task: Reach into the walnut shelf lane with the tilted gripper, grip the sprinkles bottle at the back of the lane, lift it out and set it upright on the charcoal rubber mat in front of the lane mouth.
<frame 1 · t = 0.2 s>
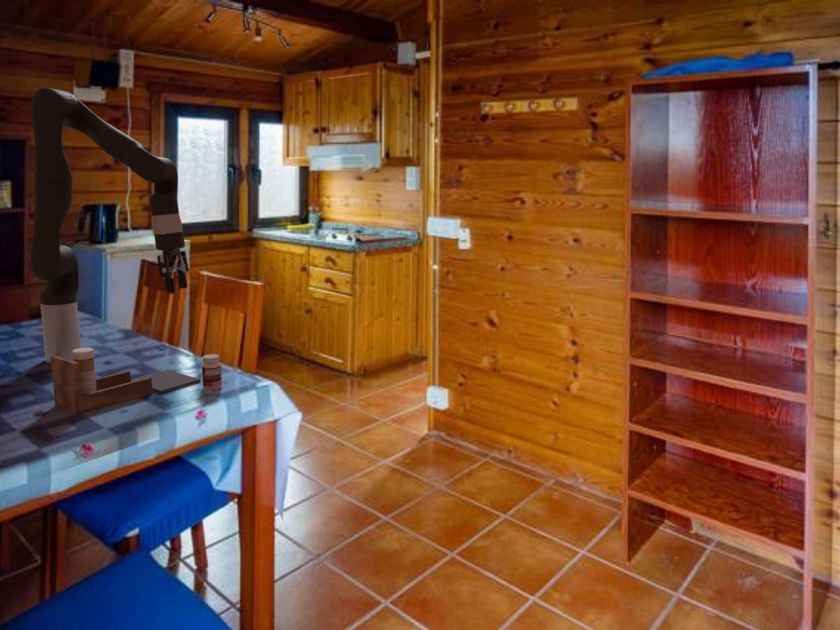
hand: (177, 290, 185), 22 cm above the table, tool pointing down, fingers open, 8 cm apart
sprinkles bottle: (87, 404, 159), resting in shelf lane
pill bottle: (212, 388, 173), on the table
rubber mat: (164, 382, 176), on the table
shelf lane: (105, 399, 163), on the table
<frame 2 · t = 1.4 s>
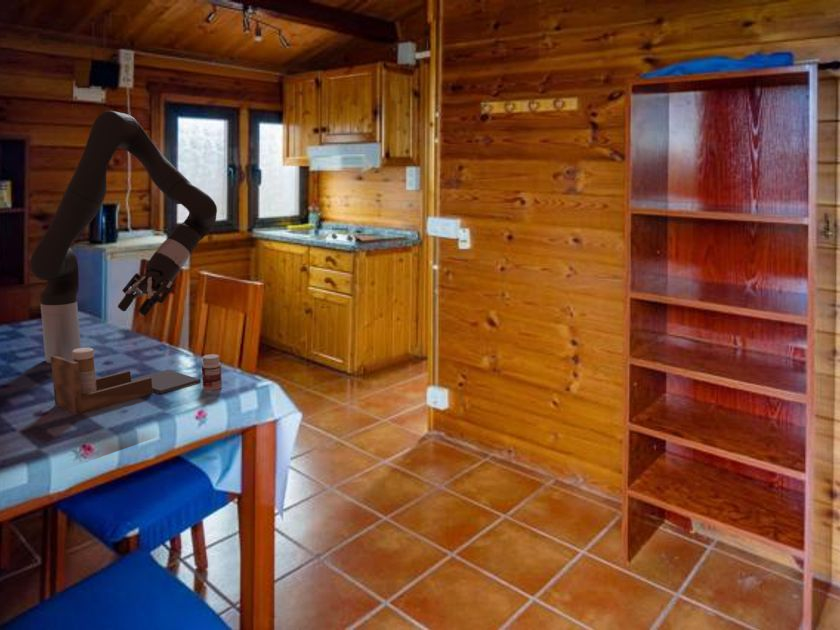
hand: (131, 311, 165), 20 cm above the table, tool tilted 45°, fingers open, 8 cm apart
nothing on the table moved.
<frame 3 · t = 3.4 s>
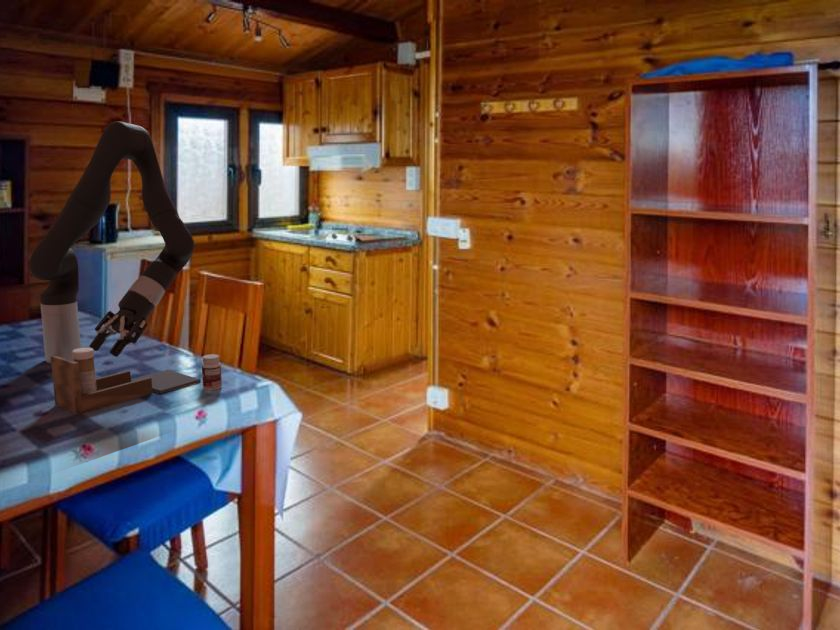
hand: (102, 352, 160), 12 cm above the table, tool tilted 45°, fingers open, 8 cm apart
nothing on the table moved.
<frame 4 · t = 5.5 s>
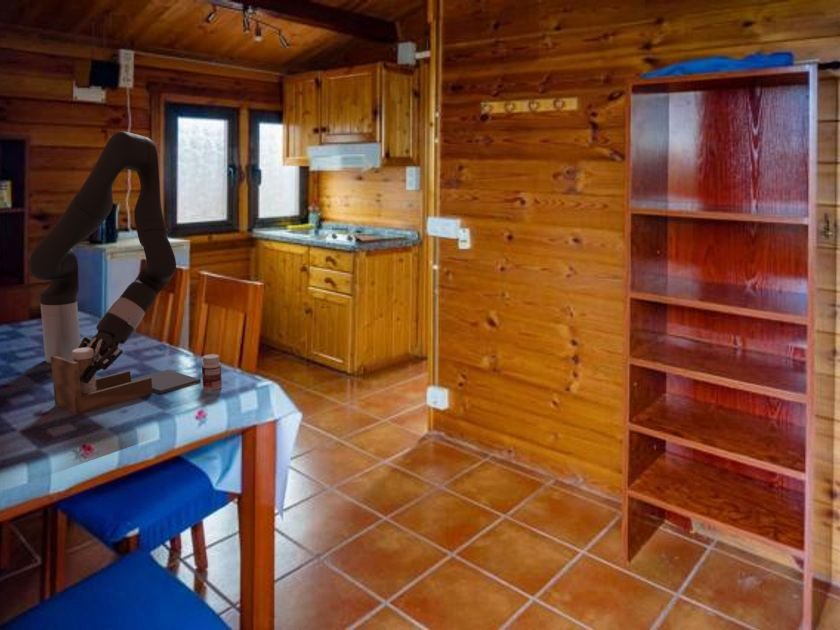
hand: (77, 379, 156), 7 cm above the table, tool tilted 45°, fingers closed on sprinkles bottle, 4 cm apart
sprinkles bottle: (87, 404, 159), resting in shelf lane, touching gripper
everything else where it was.
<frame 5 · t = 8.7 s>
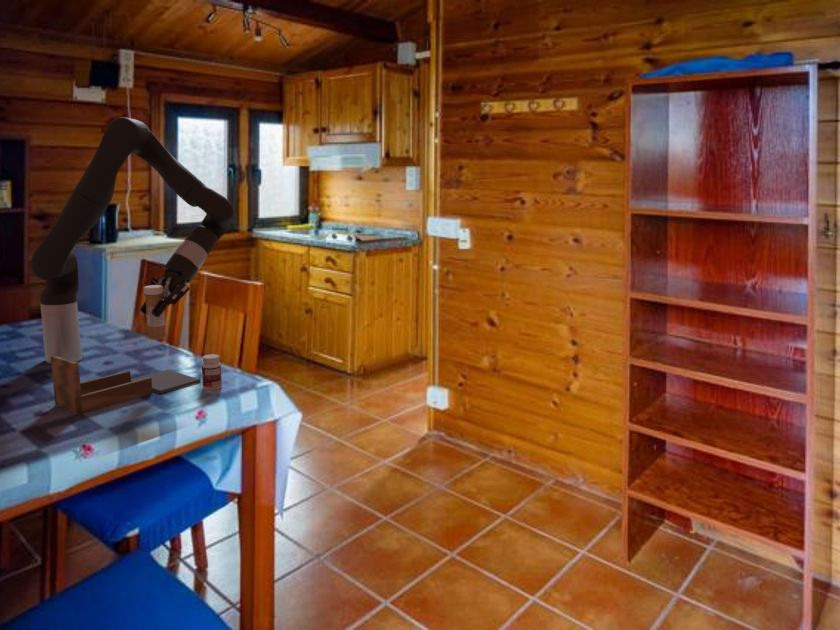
hand: (149, 313, 169), 19 cm above the table, tool tilted 45°, fingers closed on sprinkles bottle, 4 cm apart
sprinkles bottle: (157, 338, 172), point 12 cm above the table, touching gripper
everything else where it was.
when the fingers open (8 cm above the table, at t = 11.7 s): sprinkles bottle stays where it is, resting on rubber mat.
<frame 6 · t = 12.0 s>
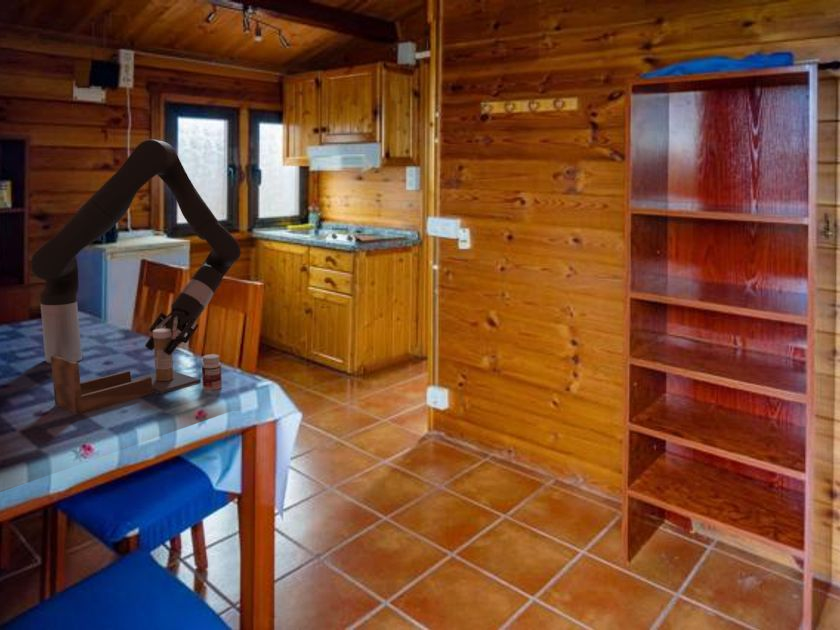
hand: (157, 350, 173), 9 cm above the table, tool tilted 45°, fingers open, 7 cm apart
sprinkles bottle: (164, 380, 176), point 1 cm above the table, touching rubber mat
everything else where it was.
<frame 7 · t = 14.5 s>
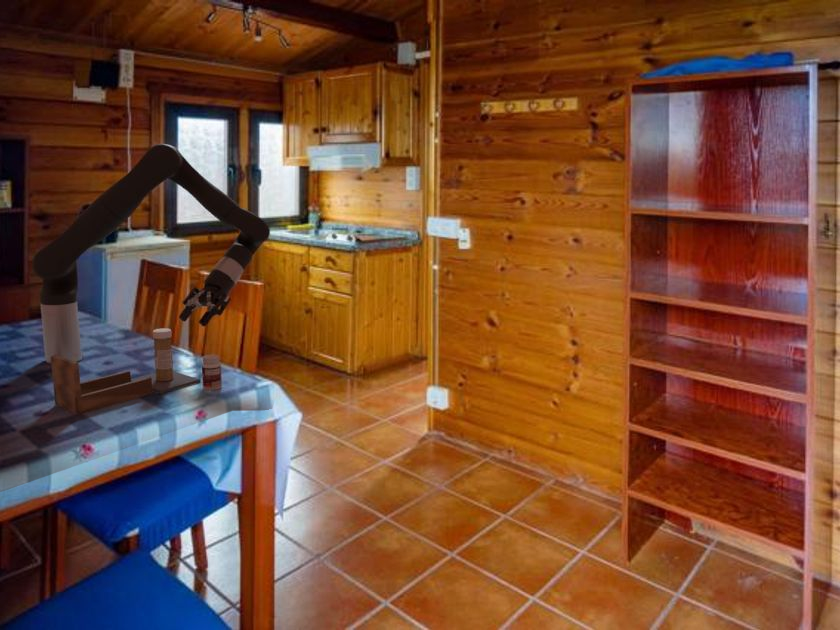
hand: (191, 322, 183), 14 cm above the table, tool tilted 45°, fingers open, 8 cm apart
nothing on the table moved.
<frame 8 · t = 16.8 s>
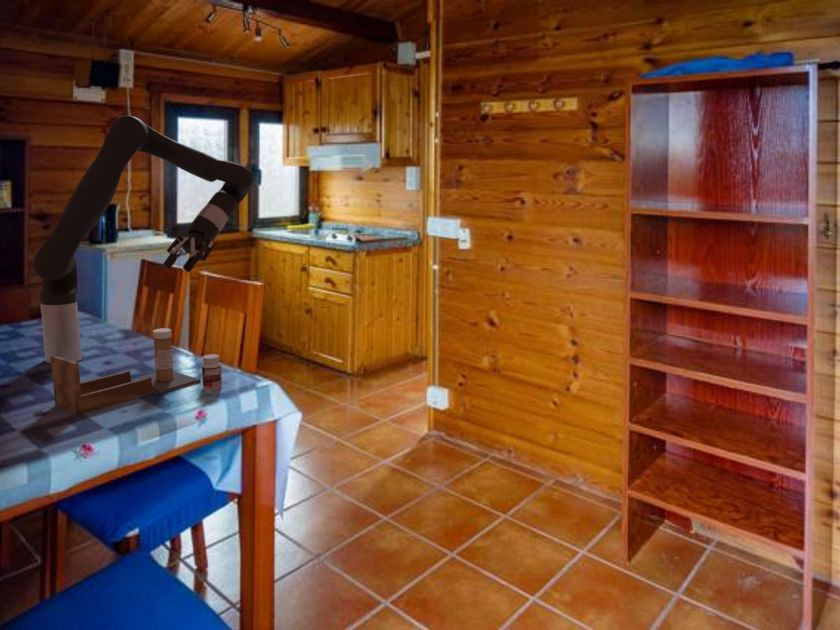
hand: (175, 268, 181), 29 cm above the table, tool tilted 45°, fingers open, 8 cm apart
nothing on the table moved.
at the end: sprinkles bottle inside the target area on the rubber mat (0.2 cm from its centre), point 0.6 cm above the rubber mat's base; sprinkles bottle tilted 0°; the gripper is holding nothing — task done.
